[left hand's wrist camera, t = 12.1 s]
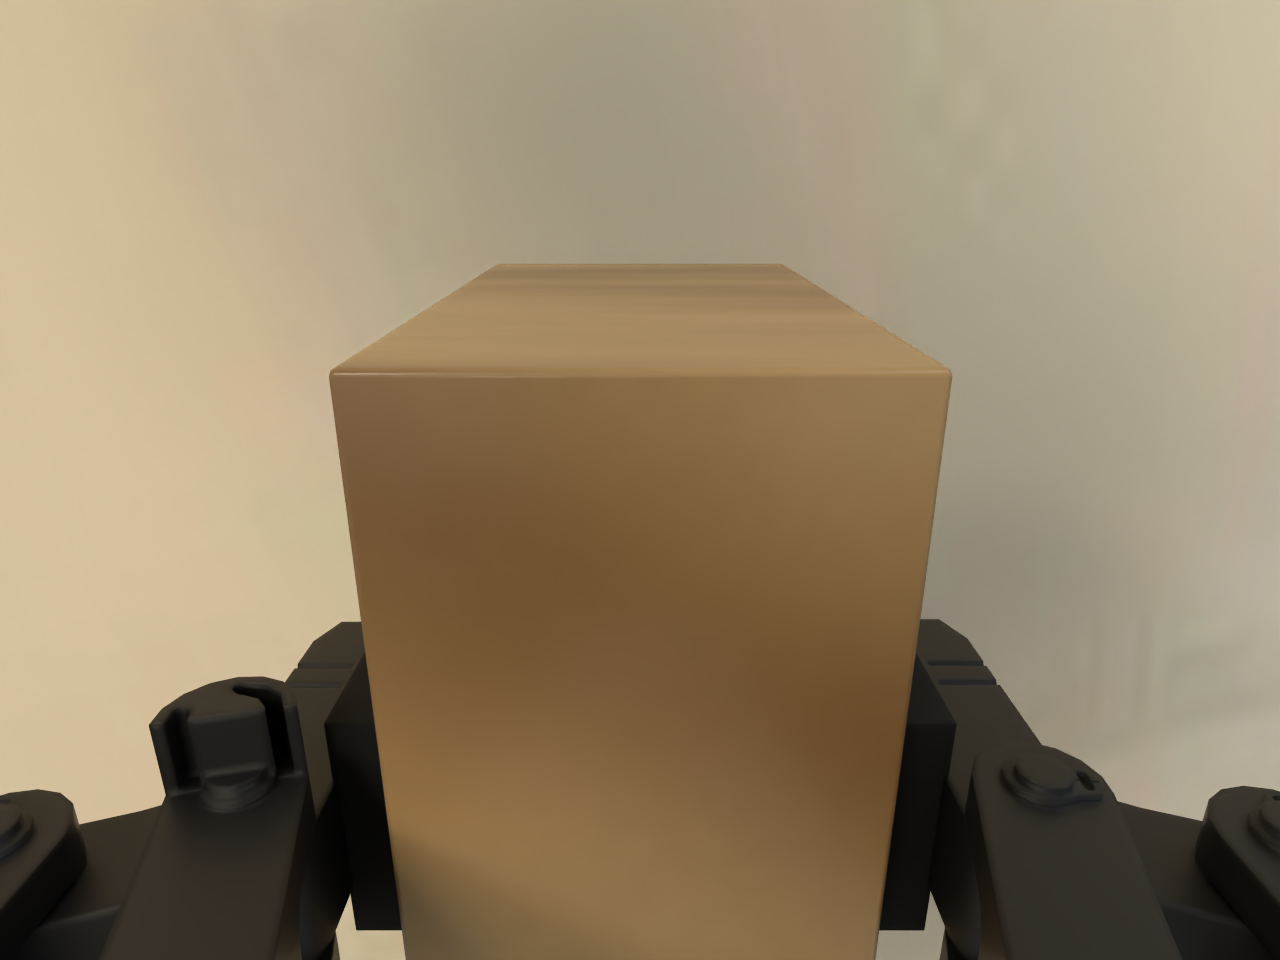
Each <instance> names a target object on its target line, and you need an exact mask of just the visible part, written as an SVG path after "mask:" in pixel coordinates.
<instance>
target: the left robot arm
mask: <svg viewBox="0 0 1280 960" xmlns="http://www.w3.org/2000/svg"><path fill="white" fill-rule="evenodd" d="M149 728H150V732H151V736H152V740H153V745H154V749H155V753H156V757H157V761H158V765H159V769H160V773H161V777H162V781H163V785H164V789H165V793H166V796H165V799H164V801H163V804H162V805H161V806H157V807H154V808H150V809H147V810H143V811H139V812H135V813H130V814H126V815H121V816H116V817H112V818H107V819H103V820H98V821H94V822H89V823H84V824H80V825H79V823H78V819H77V816H76V813H75V809H74V806H73V803H72V802H71V801H69V800H68V799H67V798H66V797H65V796H63V795H62V794H61V793H58V792H51V791H45V790H39V789H38V790H29V791H21V792H13V793H8V794H4V795H1V796H0V960H340V956H339V949H338V943H337V937H336V928H337V926H338V923H339V921H340V918H341V916H342V913H343V911H344V908H345V906H346V903H347V901H348V898H349V896H350V893H351V900H352V906H353V912H354V919H355V925H356V930H402V926H401V919H400V911H399V904H398V896H397V889H396V881H395V873H394V866H393V858H392V851H391V843H390V835H389V828H388V820H387V813H386V805H385V798H384V790H383V782H382V775H381V767H380V760H379V752H378V744H377V737H376V729H375V722H374V714H373V707H372V699H371V691H370V684H369V676H368V669H367V661H366V653H365V646H364V638H363V631H362V623H361V622H341V623H340V624H338V625H337V626H335V627H334V628H332V629H331V630H329V631H328V632H326V633H325V634H324V635H322V636H321V637H319V638H318V639H316V640H315V641H313V643H312V644H311V646H310V647H309V649H308V650H307V652H306V653H305V654H304V656H303V657H302V659H301V660H300V662H299V663H298V668H297V669H294V670H293V672H292V673H291V675H290V676H289V677H288V679H287V680H286V682H285V683H284V682H283V681H279V680H275V679H271V678H267V677H237V678H232V679H227V680H223V681H218V682H214V683H210V684H207V685H205V686H202V687H200V688H198V689H195V690H193V691H190V692H188V693H185V694H183V695H182V696H180V697H179V698H177V699H176V700H174V701H173V702H171V703H170V704H168V705H167V706H165V707H164V708H163V709H162V710H161V711H160V712H159V713H158V714H157V716H156V717H155V718H154V719H153V721H152V722H151V723H150V724H149ZM930 890H931V893H932V895H933V898H934V900H935V903H936V905H937V908H938V910H939V913H940V915H941V918H942V920H943V923H944V925H945V931H944V937H943V943H942V949H941V954H940V960H1280V792H1279V791H1276V790H1273V789H1265V788H1256V787H1248V786H1240V787H1234V788H1227V789H1221V790H1220V791H1219V792H1218V793H1216V794H1215V795H1214V796H1213V797H1212V798H1210V799H1209V801H1208V805H1207V808H1206V811H1205V815H1204V818H1203V821H1199V820H1194V819H1189V818H1185V817H1180V816H1176V815H1171V814H1166V813H1162V812H1157V811H1153V810H1148V809H1143V808H1139V807H1136V806H1132V805H1129V804H1125V803H1122V802H1118V801H1117V800H1116V797H1115V795H1114V793H1113V792H1112V790H1111V789H1110V787H1109V786H1108V785H1107V783H1106V782H1105V780H1104V779H1103V777H1102V776H1101V775H1099V774H1098V773H1097V772H1095V771H1094V770H1093V769H1091V768H1090V767H1089V766H1088V765H1086V764H1085V763H1084V762H1082V761H1081V760H1079V759H1077V758H1075V757H1073V756H1070V755H1068V754H1066V753H1064V752H1062V751H1060V750H1058V749H1055V748H1051V747H1047V746H1043V745H1041V743H1040V742H1039V740H1038V739H1037V738H1036V736H1035V735H1034V733H1033V732H1032V730H1031V729H1030V728H1029V726H1028V725H1027V723H1026V722H1025V720H1024V719H1023V718H1022V716H1021V715H1020V713H1019V712H1018V710H1017V709H1016V708H1015V706H1014V705H1013V703H1012V702H1011V700H1010V699H1009V698H1008V696H1007V695H1006V693H1005V692H1004V690H1003V689H1002V688H1001V686H1000V685H997V684H996V679H995V678H994V676H993V675H992V673H991V672H990V670H989V669H988V668H987V666H983V660H982V659H981V658H980V656H979V655H978V653H977V652H976V650H975V649H974V648H973V646H972V645H971V643H970V642H969V640H968V639H967V638H965V637H964V636H963V635H961V634H960V633H958V632H957V631H955V630H954V629H952V628H951V627H949V626H948V625H947V624H945V623H944V622H942V621H941V620H939V619H920V624H919V632H918V639H917V647H916V654H915V662H914V669H913V677H912V685H911V692H910V700H909V707H908V715H907V722H906V730H905V738H904V745H903V753H902V760H901V768H900V775H899V783H898V790H897V798H896V806H895V813H894V821H893V828H892V836H891V843H890V851H889V859H888V866H887V874H886V881H885V889H884V896H883V904H882V912H881V919H880V927H879V930H924V928H925V922H926V915H927V909H928V903H929V896H930Z"/></svg>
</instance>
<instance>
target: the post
mask: <svg viewBox="0 0 1280 960" xmlns="http://www.w3.org/2000/svg"><path fill="white" fill-rule="evenodd" d="M329 380H330V388H331V396H332V403H333V411H334V418H335V426H336V434H337V441H338V449H339V456H340V464H341V471H342V479H343V487H344V494H345V502H346V509H347V517H348V525H349V532H350V540H351V547H352V555H353V562H354V570H355V578H356V585H357V593H358V600H359V608H360V616H361V623H362V631H363V638H364V646H365V653H366V661H367V669H368V676H369V684H370V691H371V699H372V707H373V714H374V722H375V729H376V737H377V744H378V752H379V760H380V767H381V775H382V782H383V790H384V798H385V805H386V813H387V820H388V828H389V835H390V843H391V851H392V858H393V866H394V873H395V881H396V889H397V896H398V904H399V911H400V919H401V926H402V934H403V942H404V949H405V957H406V960H875V957H876V949H877V942H878V934H879V927H880V919H881V912H882V904H883V896H884V889H885V881H886V874H887V866H888V859H889V851H890V843H891V836H892V828H893V821H894V813H895V806H896V798H897V790H898V783H899V775H900V768H901V760H902V753H903V745H904V738H905V730H906V722H907V715H908V707H909V700H910V692H911V685H912V677H913V669H914V662H915V654H916V647H917V639H918V632H919V624H920V616H921V609H922V601H923V594H924V586H925V579H926V571H927V563H928V556H929V548H930V541H931V533H932V526H933V518H934V510H935V503H936V495H937V488H938V480H939V473H940V465H941V457H942V450H943V442H944V435H945V427H946V420H947V412H948V404H949V397H950V389H951V382H952V374H951V370H950V369H948V368H946V367H945V366H943V365H942V364H940V363H938V362H937V361H935V360H934V359H932V358H930V357H929V356H927V355H926V354H924V353H923V352H921V351H919V350H918V349H916V348H915V347H913V346H911V345H910V344H908V343H907V342H905V341H903V340H902V339H900V338H899V337H897V336H896V335H894V334H892V333H891V332H889V331H888V330H886V329H884V328H883V327H881V326H880V325H878V324H876V323H875V322H873V321H872V320H870V319H869V318H867V317H865V316H864V315H862V314H861V313H859V312H857V311H856V310H854V309H853V308H851V307H849V306H848V305H846V304H845V303H843V302H842V301H840V300H838V299H837V298H835V297H834V296H832V295H830V294H829V293H827V292H826V291H824V290H823V289H821V288H819V287H818V286H816V285H815V284H813V283H811V282H810V281H808V280H807V279H805V278H803V277H802V276H800V275H799V274H797V273H796V272H794V271H792V270H791V269H789V268H788V267H786V266H784V265H782V264H498V265H495V266H494V267H492V268H491V269H489V270H488V271H486V272H484V273H483V274H481V275H480V276H478V277H477V278H475V279H473V280H472V281H470V282H469V283H467V284H466V285H464V286H462V287H461V288H459V289H458V290H456V291H455V292H453V293H451V294H450V295H448V296H447V297H445V298H444V299H442V300H440V301H439V302H437V303H436V304H434V305H433V306H431V307H429V308H428V309H426V310H425V311H423V312H422V313H420V314H418V315H417V316H415V317H414V318H412V319H411V320H409V321H407V322H406V323H404V324H403V325H401V326H400V327H398V328H396V329H395V330H393V331H392V332H390V333H389V334H387V335H385V336H384V337H382V338H381V339H379V340H378V341H376V342H374V343H373V344H371V345H370V346H368V347H367V348H365V349H363V350H362V351H360V352H359V353H357V354H356V355H354V356H352V357H351V358H349V359H348V360H346V361H345V362H343V363H341V364H340V365H338V366H337V367H335V368H334V369H332V370H331V371H330V375H329Z"/></svg>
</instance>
